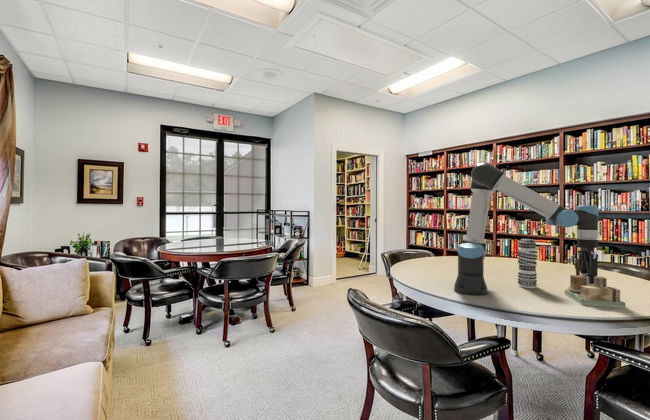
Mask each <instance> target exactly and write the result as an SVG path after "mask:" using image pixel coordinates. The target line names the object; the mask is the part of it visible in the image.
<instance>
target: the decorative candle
mask: <svg viewBox="0 0 650 420" xmlns="http://www.w3.org/2000/svg"><path fill="white" fill-rule="evenodd" d="M518 243H519V244H518V250H517V251H516V253H517V256H518V257H517V264H518V272H517V274H518V275H517V277H518V278H517V280H518V281H517V286H518V287H520V288H526V289H536V288H537V284H538V283H537V281H538V280H537V275H538V274H537V266H538V264H537V263H538V262H537V260H538V258H537V257H538V255H537V254H538V253H539V252H538V251H537V242H536V241H535V239H533V238H532V239H531V238H520V240H519V241H518Z"/></svg>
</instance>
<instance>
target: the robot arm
mask: <svg viewBox="0 0 650 420" xmlns="http://www.w3.org/2000/svg"><path fill="white" fill-rule="evenodd" d="M470 178H471V181H470V188H469V189H470V190H471V192H472V194H471V195H472V197H471V202H470V210H469V216H468V222H467V229H466V236H465V237H463V239H462V241H461V242H462V243H460V244H459V245H458V247H457V277H456V279H455V282H454V286H453V290H454V292H457V293H459V294H463V295H464V294H465V295H470V296H482V295H487V294H488V286H487V283H486V280H485V278H484V277H485V276H484V264H485V263H484V262H485V261H484V260H485V258H486V249H487V241H486V240H485V234H486V229H487V228H486V227H487V221H488V214H489V208H490V202H491V201H490V200H491V195H492V194H494V192H495V191H497V192H499V193H501V194H503V195H505V196H507V197H508V198H509V199H512V200H514V201H515V202H517V203H519V204H521V205H523V206H525V207H526V208H528V209H530V210H532V211H534V212H535V213H537V214H539V215H540V216H543V217H545V223H546V225H548V226H561V227H563V228H571V227H575V226H576V237H577V241H576V243H577V244H576V246H577V247H578V248H580V250H578V251H577V254H578V259H579V271H580V275H581V276H586V277H587V286H595V279H594V277H595V276H598V268H599V267H598V262H599V261H598V259H599V254H597V253H596V252H595V249H598V248H599V234H600V231H599V207H598V206H597V205H577V207H576V209H568V208H567V207H564V206H562V205H560V204H558V203H557V202H555V201H553V200H551V199H549V198H547V197H545V196H544V195H542V194H540V193H538V192H537V191H534V190H533V189H531V188H529V187H527V186H525V185H523V184H521V183H520V182H518V181H516V180H514V179H512V178H510V177H508V176H507V175H506V173H505V172H504V171H502V170H500V168H499V169H498V168H497V167H495V165H493V164H491V163H488V162H480V163H477V164H476V165H475V166H474V167H472V170H471V172H470Z"/></svg>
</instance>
